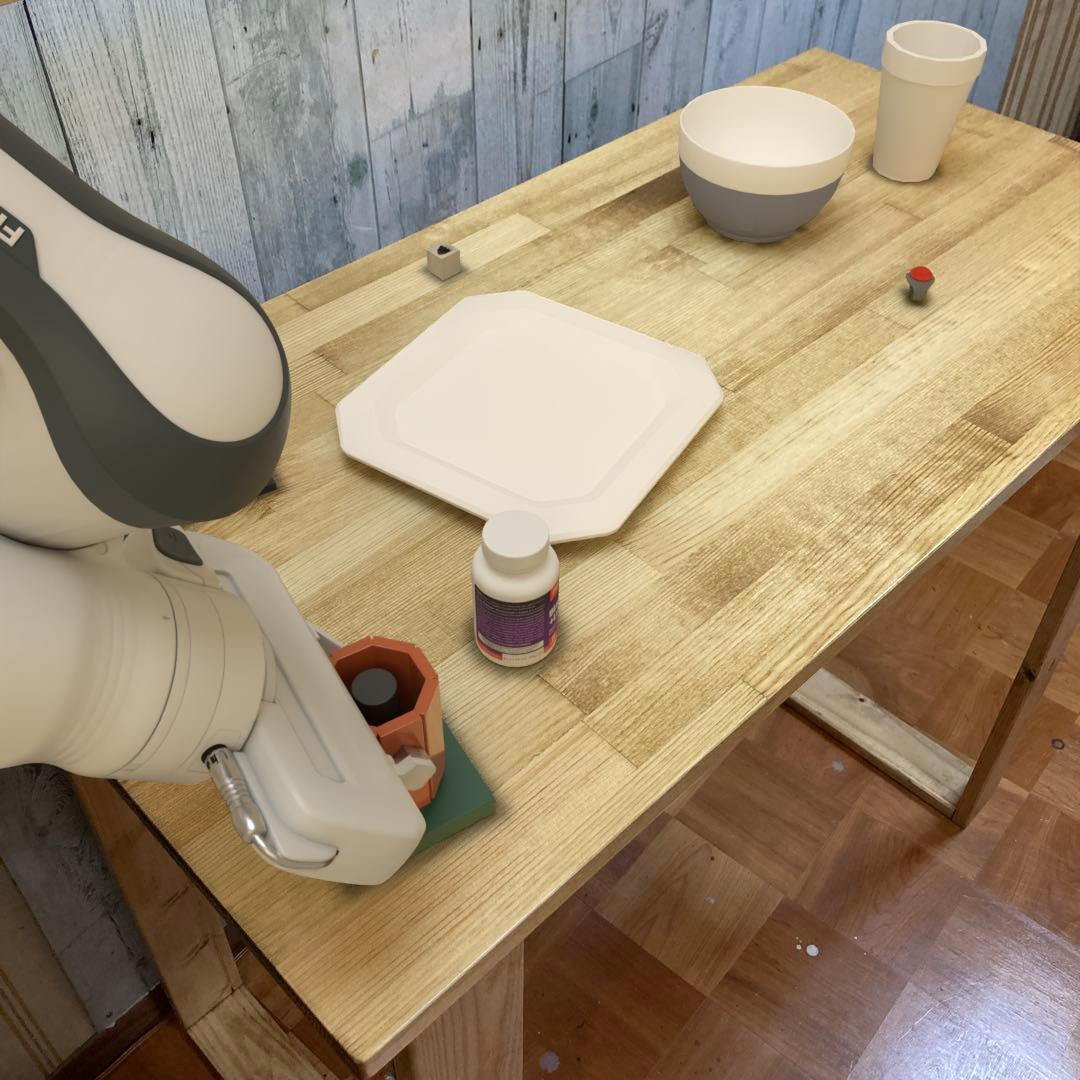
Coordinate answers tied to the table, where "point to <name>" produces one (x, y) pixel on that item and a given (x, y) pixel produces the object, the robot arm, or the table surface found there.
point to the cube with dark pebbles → (443, 260)
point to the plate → (531, 413)
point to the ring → (919, 282)
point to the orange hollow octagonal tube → (402, 700)
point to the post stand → (460, 784)
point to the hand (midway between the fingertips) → (390, 716)
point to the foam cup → (922, 94)
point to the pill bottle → (515, 589)
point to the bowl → (762, 159)
